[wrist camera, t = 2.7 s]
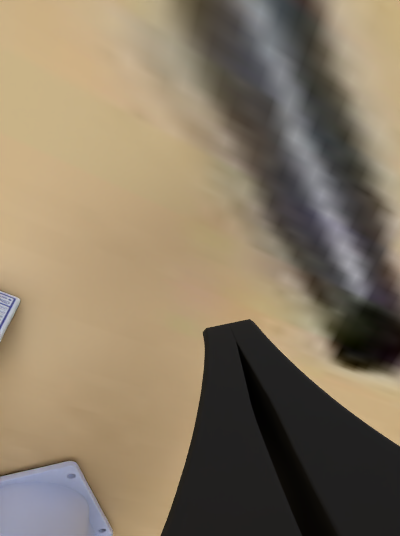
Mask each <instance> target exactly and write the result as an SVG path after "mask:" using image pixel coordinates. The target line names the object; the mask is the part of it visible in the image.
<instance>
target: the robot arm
mask: <svg viewBox="0 0 400 536" xmlns="http://www.w3.org/2000/svg"><path fill="white" fill-rule="evenodd" d="M203 336H204V343H205V360H204V373H203V381H202V390H201V396H200V401H199V407H198V412H197V417H196V422H195V427H194V431H193V436H192V440H191V444H190V447H189V451H188V455H187V459H186V462H185V466H184V469H183V472H182V475H181V479H180V482H179V485H178V488H177V492H176V495H175V498H174V501H173V504H172V507H171V510H170V512H169V515H168V518H167V521H166V523H165V526H164V529H163V531H162V534H161V536H400V446H398V445H397V444H395V443H394V442H392V441H391V440H389V439H388V438H386V437H385V436H383V435H382V434H380V433H379V432H377V431H376V430H375V429H373V428H372V427H370V426H369V425H367V424H366V423H365V422H363V421H362V420H360V419H359V418H358V417H356V416H355V415H354V414H352V413H351V412H350V411H348V410H347V409H346V408H344V407H343V406H342V405H340V404H339V403H338V402H337V401H335V400H334V399H333V398H332V397H330V396H329V395H328V394H327V393H326V392H324V391H323V390H322V389H321V388H320V387H318V386H317V385H316V384H315V383H314V382H313V381H312V380H310V379H309V378H308V377H307V376H306V375H305V374H304V373H303V372H301V371H300V370H299V369H298V368H297V367H296V366H295V365H294V364H293V363H292V362H291V361H290V360H289V359H288V358H287V357H286V356H285V355H284V354H283V353H282V352H281V351H280V350H279V349H278V348H277V347H276V346H275V345H274V344H273V343H272V342H271V341H270V340H269V339H268V338H267V337H266V336H265V335H264V333H263V332H262V331H261V330H260V329H259V328H258V327H257V325H256V324H255V323H254V322H253V321H252V320H250V319H248V320H244V321H239V322H234V323H229V324H224V325H220V326H215V327H210V328H206V329H205V330H204V332H203ZM0 536H113V530H112V528H111V526H110V524H109V522H108V520H107V518H106V517H105V515H104V513H103V511H102V509H101V507H100V505H99V503H98V502H97V500H96V498H95V496H94V494H93V492H92V490H91V488H90V487H89V485H88V483H87V481H86V479H85V477H84V475H83V473H82V472H81V470H80V468H79V466H78V464H77V463H76V462H74V461H66V462H62V463H57V464H53V465H49V466H44V467H40V468H35V469H31V470H27V471H22V472H18V473H13V474H9V475H5V476H0Z"/></svg>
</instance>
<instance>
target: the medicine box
mask: <svg viewBox="0 0 400 536" xmlns="http://www.w3.org/2000/svg"><path fill="white" fill-rule="evenodd" d="M19 304H20V299H19V298H18V297H15V296H13V295H10V294H7V293H5V292H2V291H0V342H1V340H2V337H3V335H4V333H5V331H6V329H7V327H8V325H9V323H10V322H11V320H12V318H13V316H14V314H15V312H16V310H17V308H18V306H19Z"/></svg>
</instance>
